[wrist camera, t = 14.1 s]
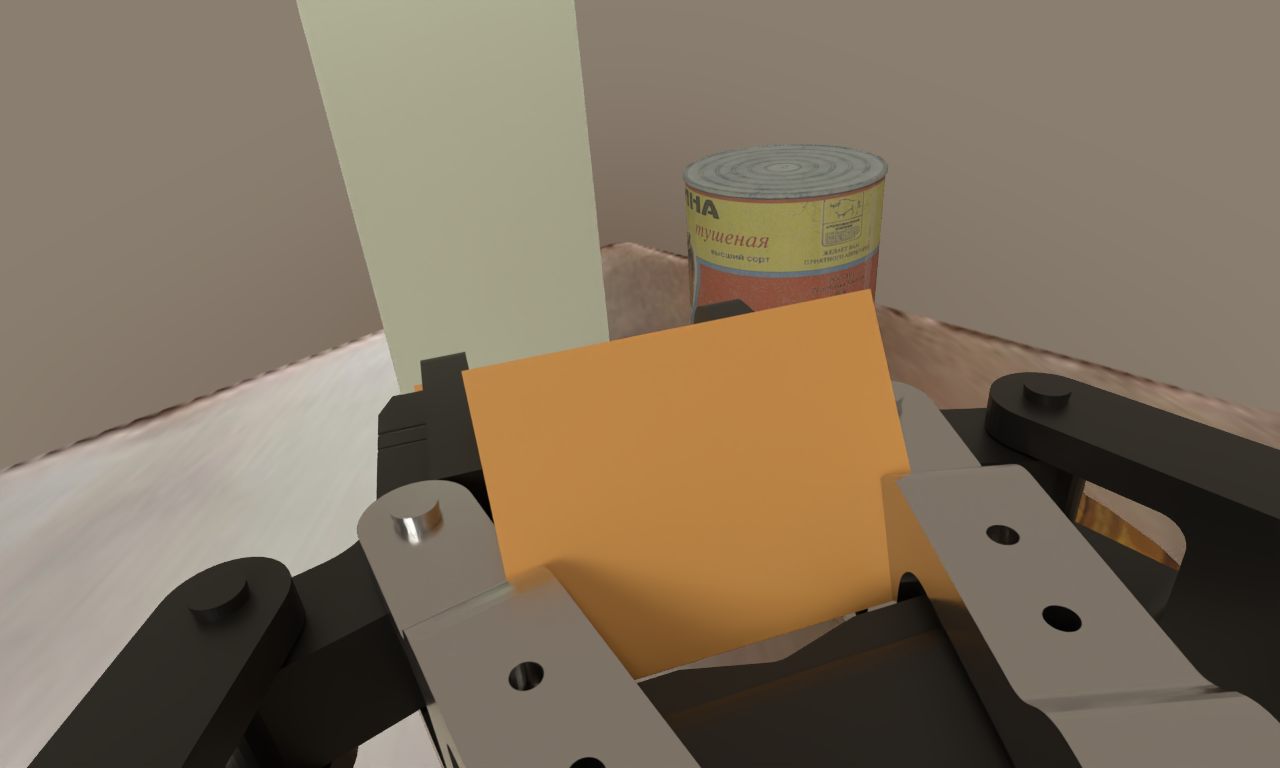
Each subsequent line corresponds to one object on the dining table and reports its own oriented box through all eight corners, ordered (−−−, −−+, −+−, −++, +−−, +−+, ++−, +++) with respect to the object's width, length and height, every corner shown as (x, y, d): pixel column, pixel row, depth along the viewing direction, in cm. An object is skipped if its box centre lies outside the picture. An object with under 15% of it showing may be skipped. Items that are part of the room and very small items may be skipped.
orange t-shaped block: (1064, 548, 8) (978, 168, 8) (354, 765, 6) (252, 289, 6) (643, 460, 27) (620, 353, 27) (451, 506, 26) (426, 393, 26)
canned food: (701, 318, 53) (694, 148, 48) (863, 319, 51) (877, 141, 45) (680, 398, 44) (669, 196, 38) (879, 403, 42) (899, 190, 36)
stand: (656, 480, 37) (586, -419, 21) (410, 541, 34) (124, -435, 19) (591, 361, 49) (514, -272, 33) (403, 399, 46) (226, -269, 30)
